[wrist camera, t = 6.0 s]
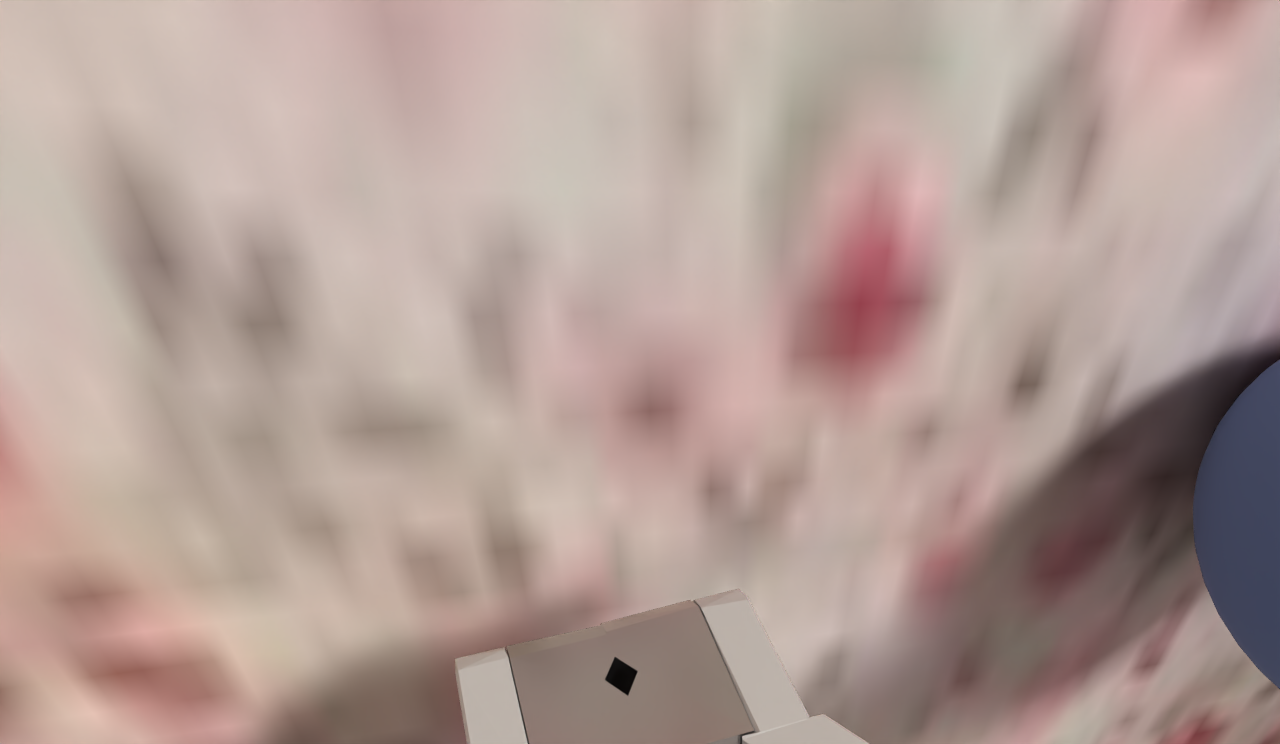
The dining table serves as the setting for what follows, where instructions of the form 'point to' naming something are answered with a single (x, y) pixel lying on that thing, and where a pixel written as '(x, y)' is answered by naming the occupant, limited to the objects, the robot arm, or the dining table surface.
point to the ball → (1244, 521)
